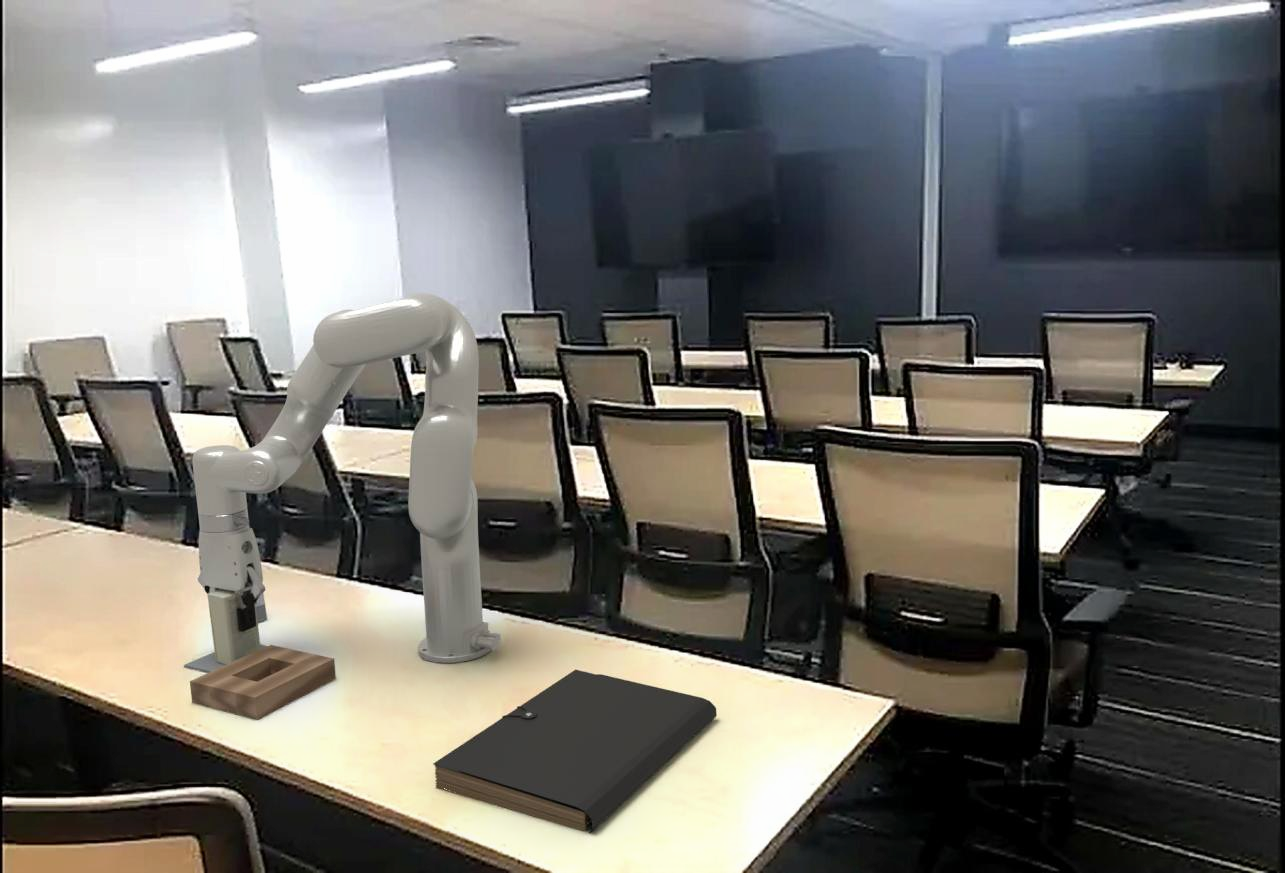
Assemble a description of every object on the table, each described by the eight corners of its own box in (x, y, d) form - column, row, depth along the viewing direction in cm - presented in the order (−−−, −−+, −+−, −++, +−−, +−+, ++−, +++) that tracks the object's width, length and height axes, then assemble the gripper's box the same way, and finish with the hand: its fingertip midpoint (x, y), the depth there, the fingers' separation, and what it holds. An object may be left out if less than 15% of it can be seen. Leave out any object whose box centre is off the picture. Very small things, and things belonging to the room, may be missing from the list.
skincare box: (245, 649, 182) (237, 581, 180) (262, 653, 180) (255, 585, 178) (213, 662, 177) (205, 593, 174) (231, 667, 175) (223, 597, 172)
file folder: (574, 666, 163) (716, 699, 151) (575, 691, 164) (716, 726, 152) (431, 760, 135) (592, 809, 123) (433, 790, 135) (593, 841, 124)
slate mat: (291, 653, 181) (291, 650, 181) (234, 679, 171) (234, 677, 171) (241, 642, 187) (241, 640, 187) (184, 667, 176) (183, 664, 176)
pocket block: (335, 679, 170) (334, 658, 169) (257, 719, 156) (254, 697, 155) (272, 664, 176) (270, 644, 176) (192, 702, 163) (189, 681, 162)
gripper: (279, 520, 174) (289, 626, 177) (207, 511, 182) (218, 612, 185) (242, 532, 167) (254, 642, 170) (169, 521, 175) (182, 626, 178)
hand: (235, 625), depth 178 cm, fingers open, 5 cm apart
